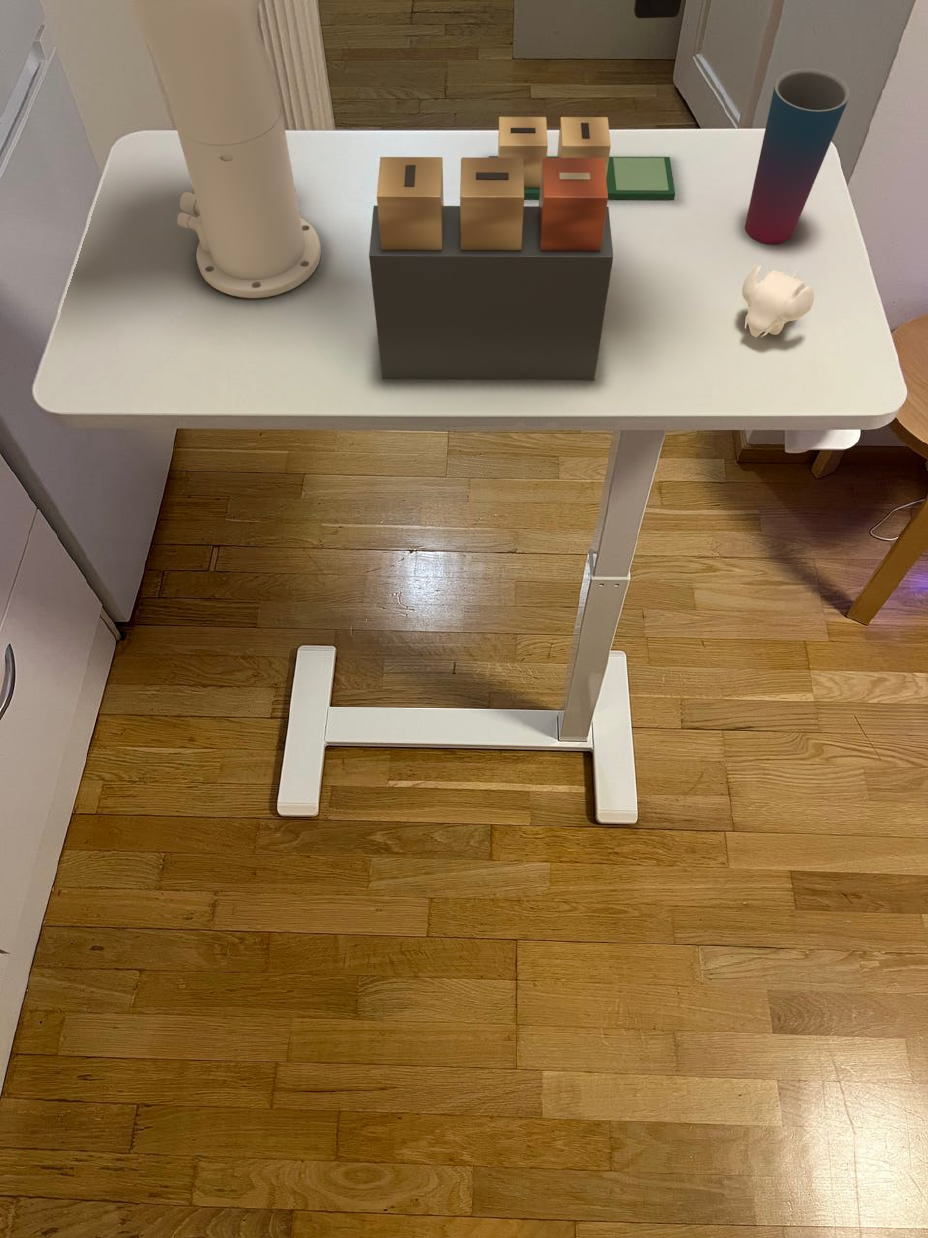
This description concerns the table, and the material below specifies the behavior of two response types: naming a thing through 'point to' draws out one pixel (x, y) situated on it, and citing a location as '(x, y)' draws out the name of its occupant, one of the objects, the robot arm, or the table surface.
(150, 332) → the table surface
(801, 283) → the elephant figurine
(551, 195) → the slotted orange cube
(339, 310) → the table surface
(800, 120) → the cup
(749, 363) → the table surface
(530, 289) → the near dark gray stand
